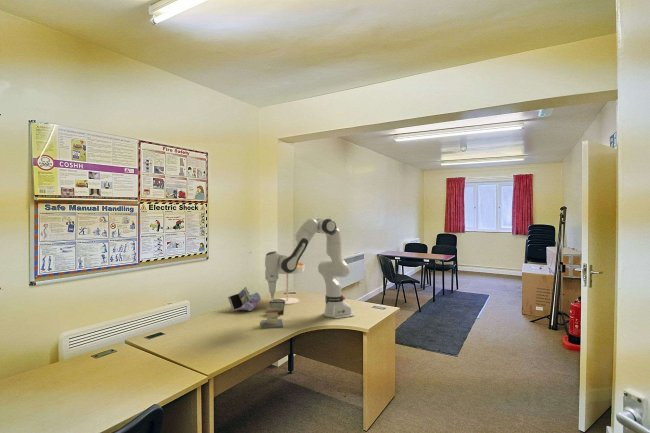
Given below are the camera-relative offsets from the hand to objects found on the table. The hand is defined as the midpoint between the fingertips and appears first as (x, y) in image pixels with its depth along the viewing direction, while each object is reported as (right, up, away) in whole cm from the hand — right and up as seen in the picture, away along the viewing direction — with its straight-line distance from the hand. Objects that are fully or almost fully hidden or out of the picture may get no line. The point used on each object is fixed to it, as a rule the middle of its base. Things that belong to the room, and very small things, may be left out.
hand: (272, 296), depth 222 cm
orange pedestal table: (+3, -18, +58) cm, 60 cm away
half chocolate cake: (0, -19, +24) cm, 31 cm away
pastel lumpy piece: (-26, -19, +34) cm, 46 cm away
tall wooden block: (0, -18, 0) cm, 18 cm away
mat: (0, -19, 0) cm, 19 cm away
